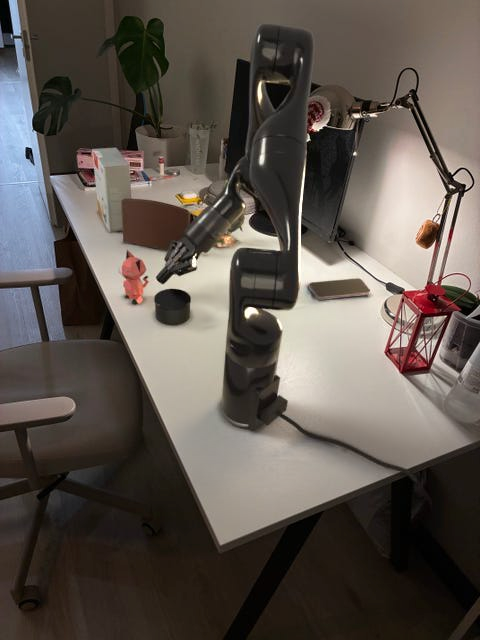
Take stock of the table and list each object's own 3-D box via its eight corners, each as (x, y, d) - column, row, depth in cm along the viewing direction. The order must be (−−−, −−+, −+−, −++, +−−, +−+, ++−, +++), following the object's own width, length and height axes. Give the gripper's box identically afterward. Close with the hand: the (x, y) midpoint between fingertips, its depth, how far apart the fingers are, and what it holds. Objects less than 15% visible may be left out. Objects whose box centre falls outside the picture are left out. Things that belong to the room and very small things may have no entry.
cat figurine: (115, 295, 122) (112, 251, 115) (140, 287, 126) (138, 244, 119) (130, 309, 118) (127, 265, 111) (155, 300, 122) (154, 257, 115)
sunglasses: (175, 230, 153) (173, 214, 151) (151, 218, 164) (150, 203, 161) (213, 221, 160) (213, 206, 158) (188, 210, 171) (188, 196, 168)
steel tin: (197, 316, 118) (198, 299, 115) (171, 330, 113) (170, 313, 110) (174, 301, 122) (174, 284, 120) (147, 314, 117) (146, 297, 114)
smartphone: (308, 282, 133) (360, 277, 136) (307, 286, 134) (359, 281, 137) (317, 297, 127) (372, 292, 130) (317, 301, 128) (371, 295, 131)
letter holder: (188, 255, 141) (189, 208, 133) (122, 243, 144) (119, 196, 136) (199, 240, 149) (200, 195, 141) (136, 229, 152) (134, 183, 144)
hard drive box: (97, 211, 160) (91, 148, 149) (121, 209, 163) (117, 147, 152) (108, 232, 149) (103, 166, 137) (134, 229, 152) (130, 164, 140)
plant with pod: (249, 245, 149) (256, 179, 138) (214, 250, 145) (218, 183, 133) (238, 233, 155) (243, 169, 144) (204, 238, 151) (206, 172, 139)
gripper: (187, 208, 122) (139, 260, 124) (208, 231, 112) (156, 287, 115) (207, 225, 127) (161, 275, 129) (228, 249, 117) (178, 302, 120)
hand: (159, 281), depth 122 cm, fingers closed
